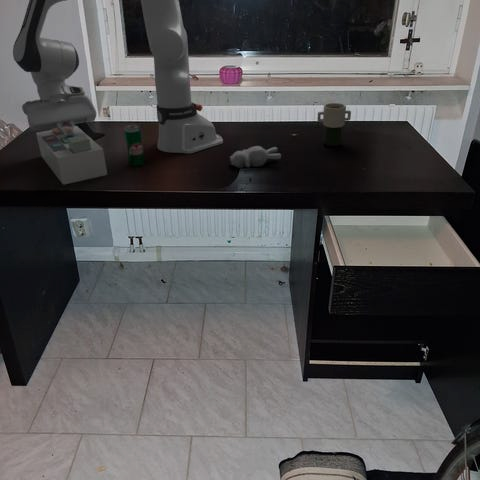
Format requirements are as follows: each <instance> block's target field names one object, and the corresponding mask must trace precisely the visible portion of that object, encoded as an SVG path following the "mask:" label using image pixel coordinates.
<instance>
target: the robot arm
mask: <svg viewBox="0 0 480 480" xmlns="http://www.w3.org/2000/svg"><path fill="white" fill-rule="evenodd" d="M28 1H29V2H28V4H27V8H26V12H25V15H24V18H23V21H22V24H21V27H20V30H19V34H18V35H17V37H16V39H15V41H14V44H13V48H12V56H13V59H14V62H15V63H16V64H17V66H18V67H20V68H21V69H22V70H23V71H24V72H26V73H30V75H31V77H32V78H31V79H32V80H33V83H34V84H35V86H36V88H37V94H38V97H39V99H34V100H28V101H26V102H24V103H23V104H22V105H21V109H22V112H23V113H24V114H25V115H26V116H27V118H26V119H27V123H28V126H29V129H30V130H31V131H33V132H35V131H43V130H47V129H53V128H57V129H58V130H59V131H60V132H61V133H62V134H63V135H64V138H68V137H74V136H75V133H74V125H75V124H78V123H83V122H86V123H89V122H94V121H96V118H97V110H96V108H95V106H94V104H93V102H92V100H91V99H90V97H89V96H88V95H86V93H85V89H84V88H83V87H81V86H73V85H67V84H66V82H65V81H66V80H68V79H70V77H71V76H72V75H73V74H74V73H75V72H76V71H77V69H78V68H79V65H80V58H79V54H78V51H77V49H76V48H75V46H74V45H73V44H72V43H71V42H67V41H63V40H58V39H51V38H46V37H41V34H42V31H43V27H44V25H45V21H46V19H47V15H48V12H49V10H50V9H51V8H52V7H53V6H54V5H55V4H58V3H61V2H65V1H67V0H28ZM140 5H141V8H142V9H141V10H142V14H143V15H142V16H143V21H144V26H145V30H146V36H147V41H148V45H149V50H150V53H152V55H153V64H154V65H153V67H154V83H155V84H154V85H155V94H156V102H157V104H156V119H157V122H158V140H157V144H156V145H157V146H156V147H157V149H158V150H159V151H162V152H165V153H172V154H173V153H177V154H181V153H182V154H193V153H196V152H201V151H203V150H206V149H208V148H214V147H215V146H218V145H222V144H223V143H224V139H223V137H222V136H221V135H220V134H217V133H216V128H215V126H214V124H213V123H212V122H211V120H209V119H207V118H206V117H205V116H203V115H201V114H199V113H198V112H202V111H203V108H204V107H203V105H202V104H199V103H194V102H192V91H191V78H190V77H191V76H190V75H191V74H190V63H189V62H190V59H189V45H188V34H187V31H186V28H185V27H184V22H183V18H182V17H183V15H182V11H181V7H180V1H179V0H140ZM67 125H69V127H71V129H70V130H65V129H63V128H62V127H64V126H67Z"/></svg>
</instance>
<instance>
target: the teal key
mask: <svg viewBox="0 0 480 480" xmlns="http://www.w3.org/2000/svg"><path fill="white" fill-rule="evenodd" d="M77 136H78V135H75V136H74V137H77ZM68 138H72V137H68ZM61 141H62V142H63V143H64V144H68V139H67V138H64V137H62V138H61Z"/></svg>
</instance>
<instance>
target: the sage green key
mask: <svg viewBox="0 0 480 480" xmlns="http://www.w3.org/2000/svg"><path fill="white" fill-rule="evenodd" d="M67 139H68V144H69V149H70V151H71V152H72V153H73V154H74V153H79V152H84V151H89V150H91V145H90V140H89V139H88V138H87V137H86V136H85V135H82V136H77V137H72V138H67Z"/></svg>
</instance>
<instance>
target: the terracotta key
mask: <svg viewBox="0 0 480 480" xmlns="http://www.w3.org/2000/svg"><path fill="white" fill-rule="evenodd" d="M62 128H63V129H65V130H70V129H71V128H70V127H69V126H67V125H66V126H65V127H64V126H62ZM52 130H53V133H54V134H55V135H56V136H57V135H62V133H61V132H60V131H59V130H58V129H57V127H54V128H52Z"/></svg>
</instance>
